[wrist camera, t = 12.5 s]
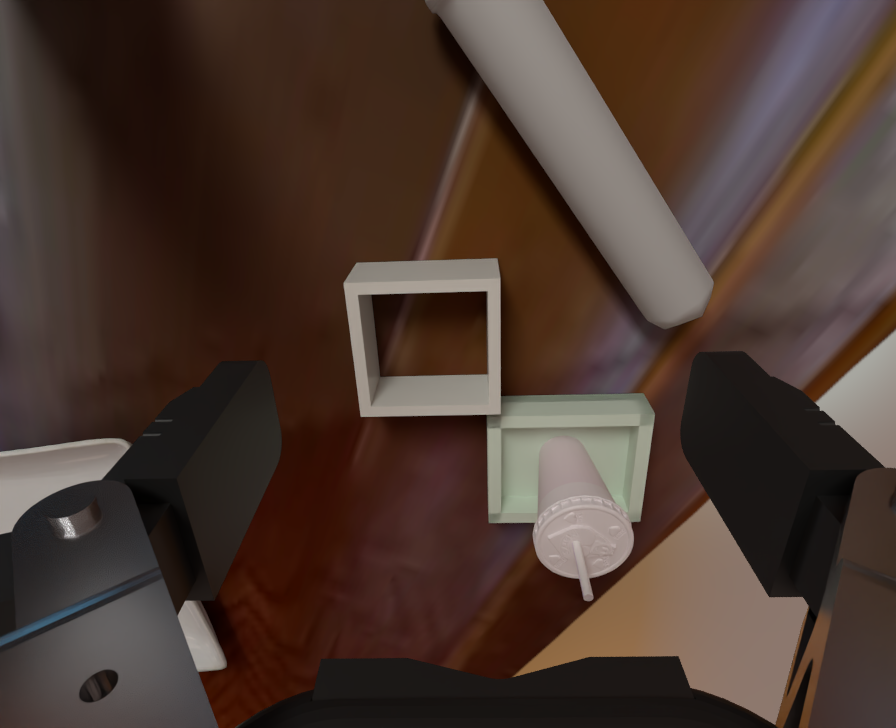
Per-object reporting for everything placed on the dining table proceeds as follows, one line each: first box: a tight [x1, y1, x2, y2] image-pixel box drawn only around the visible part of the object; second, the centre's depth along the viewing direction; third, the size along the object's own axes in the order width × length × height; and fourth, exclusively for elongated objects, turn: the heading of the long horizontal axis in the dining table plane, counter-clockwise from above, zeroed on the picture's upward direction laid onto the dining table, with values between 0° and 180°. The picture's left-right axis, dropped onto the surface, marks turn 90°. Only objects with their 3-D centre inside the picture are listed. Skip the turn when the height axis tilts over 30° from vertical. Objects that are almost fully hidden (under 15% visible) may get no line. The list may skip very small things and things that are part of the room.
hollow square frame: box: [344, 258, 501, 417], centre depth 39 cm, size 10×10×4 cm
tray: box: [487, 393, 655, 523], centre depth 44 cm, size 12×10×3 cm
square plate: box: [0, 438, 227, 672], centre depth 52 cm, size 27×27×4 cm
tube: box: [425, 0, 714, 329], centre depth 34 cm, size 5×5×25 cm
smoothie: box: [533, 436, 634, 601], centre depth 39 cm, size 6×6×14 cm
